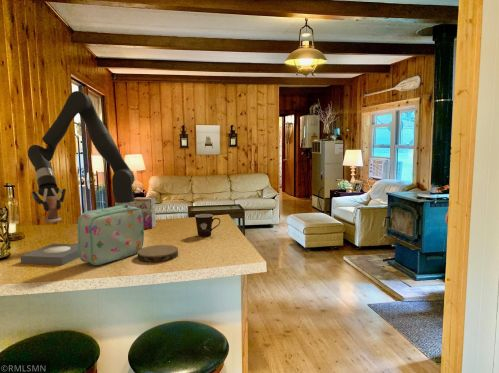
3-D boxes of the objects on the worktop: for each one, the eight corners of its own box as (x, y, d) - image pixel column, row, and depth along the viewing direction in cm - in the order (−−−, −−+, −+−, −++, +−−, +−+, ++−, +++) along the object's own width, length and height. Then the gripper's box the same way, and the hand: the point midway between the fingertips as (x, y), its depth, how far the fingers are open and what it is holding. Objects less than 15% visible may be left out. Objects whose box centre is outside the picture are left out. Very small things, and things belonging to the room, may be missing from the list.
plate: (90, 251, 158) (90, 244, 158) (62, 265, 141) (62, 256, 140) (53, 250, 161) (52, 243, 161) (21, 263, 144) (20, 255, 143)
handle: (64, 219, 165) (62, 195, 164) (54, 222, 159) (52, 197, 158) (51, 219, 167) (49, 195, 165) (41, 222, 160) (39, 197, 159)
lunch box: (131, 248, 163) (128, 200, 161) (148, 251, 158) (145, 201, 155) (76, 265, 140) (72, 209, 138) (93, 269, 135) (89, 211, 132)
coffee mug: (192, 236, 182) (191, 216, 180) (201, 232, 190) (200, 213, 188) (213, 238, 177) (213, 218, 176) (221, 234, 185) (221, 214, 184)
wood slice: (157, 265, 139) (157, 258, 139) (129, 259, 148) (128, 252, 147) (186, 255, 152) (186, 247, 152) (158, 249, 161) (158, 243, 160)
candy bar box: (133, 227, 204) (132, 198, 202) (138, 225, 209) (136, 197, 207) (152, 228, 201) (150, 198, 199) (156, 226, 206) (155, 197, 204)
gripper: (28, 175, 162) (34, 206, 154) (63, 173, 171) (71, 202, 163) (27, 186, 167) (34, 216, 159) (62, 184, 176) (70, 212, 167)
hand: (53, 209), depth 161 cm, fingers closed on handle, 4 cm apart
